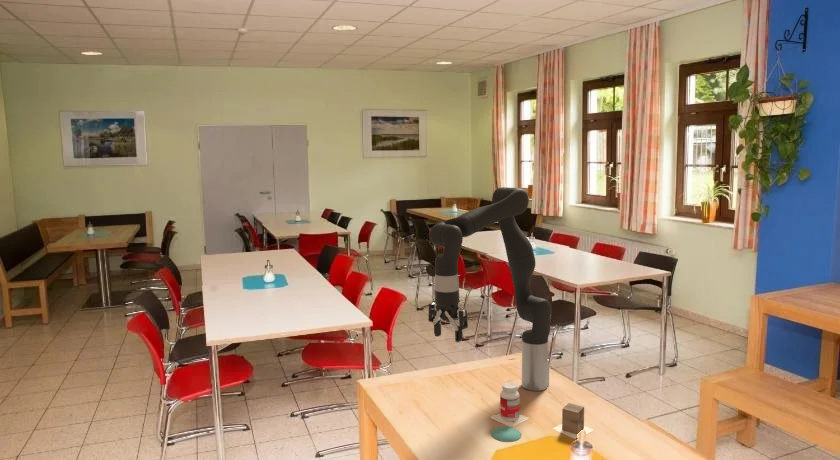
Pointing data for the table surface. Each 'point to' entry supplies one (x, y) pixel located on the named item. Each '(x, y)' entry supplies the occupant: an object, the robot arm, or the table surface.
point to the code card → (508, 423)
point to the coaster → (506, 434)
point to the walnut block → (573, 418)
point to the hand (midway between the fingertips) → (448, 338)
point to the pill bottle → (509, 402)
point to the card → (559, 429)
